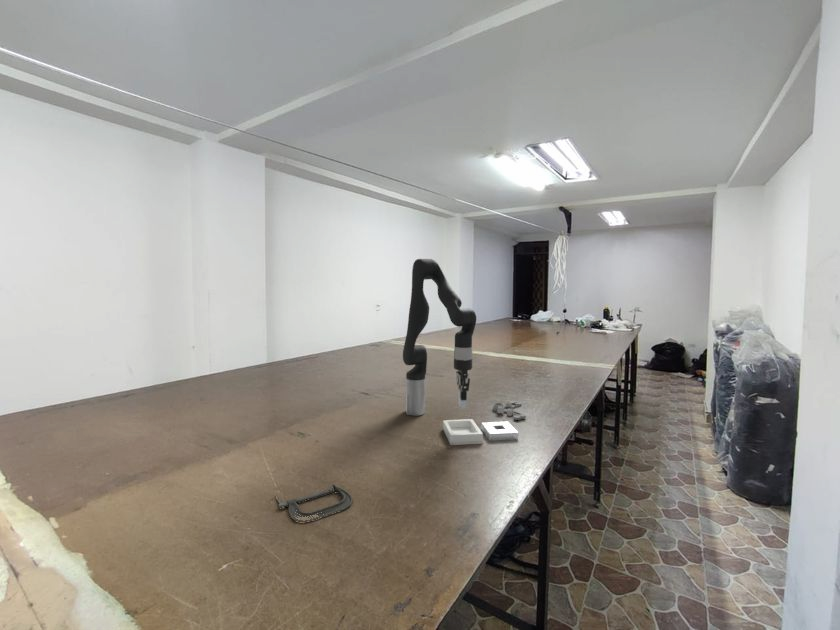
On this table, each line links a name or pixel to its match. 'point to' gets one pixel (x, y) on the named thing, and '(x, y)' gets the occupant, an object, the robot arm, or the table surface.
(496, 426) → the block
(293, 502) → the c clamp
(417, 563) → the table surface
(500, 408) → the pulley system
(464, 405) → the lock pin
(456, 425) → the parts tray
